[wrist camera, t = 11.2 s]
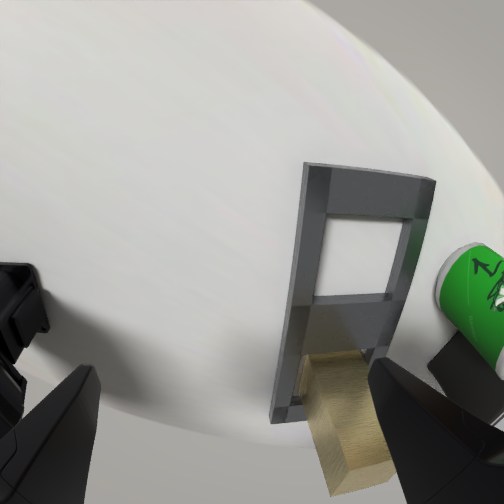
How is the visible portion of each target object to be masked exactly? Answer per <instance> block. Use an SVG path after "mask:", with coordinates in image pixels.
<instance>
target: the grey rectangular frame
mask: <svg viewBox="0 0 504 504" xmlns="http://www.w3.org/2000/svg"><path fill="white" fill-rule="evenodd" d="M435 186H436V181H435V180H433V179H430V178H428V177H423V176H417V175H411V174H404V173H397V172H390V171H383V170H375V169H368V168H359V167H350V166H341V165H331V164H320V163H309V162H304V165H303V175H302V185H301V194H300V203H299V212H298V221H297V229H296V237H295V246H294V254H293V261H292V269H291V277H290V284H289V291H288V299H287V306H286V313H285V319H284V326H283V333H282V339H281V346H280V352H279V359H278V365H277V371H276V377H275V383H274V389H273V395H272V400H271V406H270V412H269V418H270V423H271V424H279V423H289V422H298V421H306V420H307V417H306V414H305V410H304V407H303V404H302V400H301V397H300V396H293V397H292V393H293V388H294V384H295V380H296V375H297V371H298V366H299V362H300V357H301V355H310V354H322V353H332V352H342V351H351V350H360V349H367V350H366V353H365V355H364V360H365V361H366V363H367V365H368V367H369V369H370V368H371V366H372V363H373V361H374V359H375V358H380V357H385V355H386V352H387V350H388V347H389V345H390V342H391V340H392V337H393V334H394V332H395V329H396V326H397V324H398V321H399V318H400V315H401V313H402V310H403V307H404V304H405V301H406V298H407V295H408V292H409V289H410V285H411V282H412V279H413V276H414V272H415V269H416V265H417V262H418V258H419V255H420V251H421V247H422V244H423V240H424V236H425V232H426V228H427V223H428V219H429V215H430V210H431V206H432V201H433V196H434V191H435ZM326 213H330V214H350V215H368V216H384V217H399V218H404V220H403V225H402V230H401V234H400V238H399V243H398V247H397V251H396V255H395V259H394V263H393V266H392V270H391V274H390V277H389V281H388V285H387V288H386V291H385V293H376V294H357V295H335V296H313V292H314V286H315V281H316V275H317V269H318V263H319V257H320V251H321V245H322V238H323V232H324V225H325V218H326Z"/></svg>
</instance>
